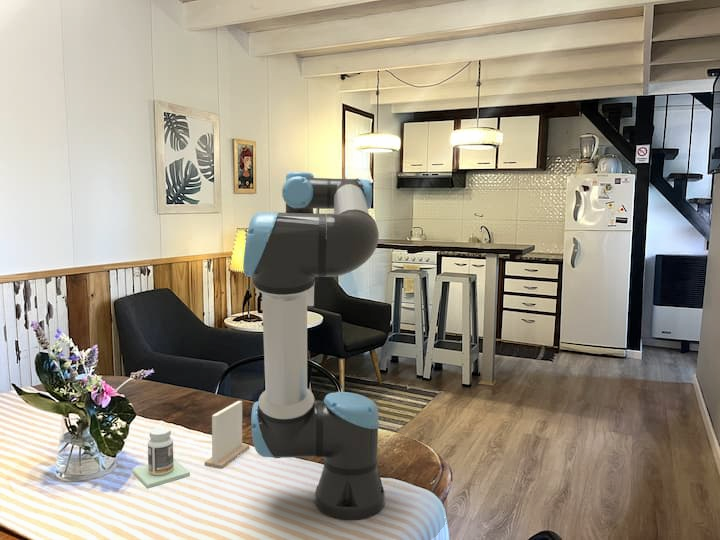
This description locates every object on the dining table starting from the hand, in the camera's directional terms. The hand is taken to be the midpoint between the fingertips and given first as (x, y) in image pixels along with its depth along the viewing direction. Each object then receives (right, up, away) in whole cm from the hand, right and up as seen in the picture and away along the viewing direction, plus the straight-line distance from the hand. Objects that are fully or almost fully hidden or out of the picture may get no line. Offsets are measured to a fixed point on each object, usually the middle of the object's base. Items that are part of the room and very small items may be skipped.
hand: (298, 309), depth 151 cm
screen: (-17, -37, -8) cm, 42 cm away
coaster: (-31, -38, -18) cm, 52 cm away
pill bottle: (-31, -37, -19) cm, 52 cm away
